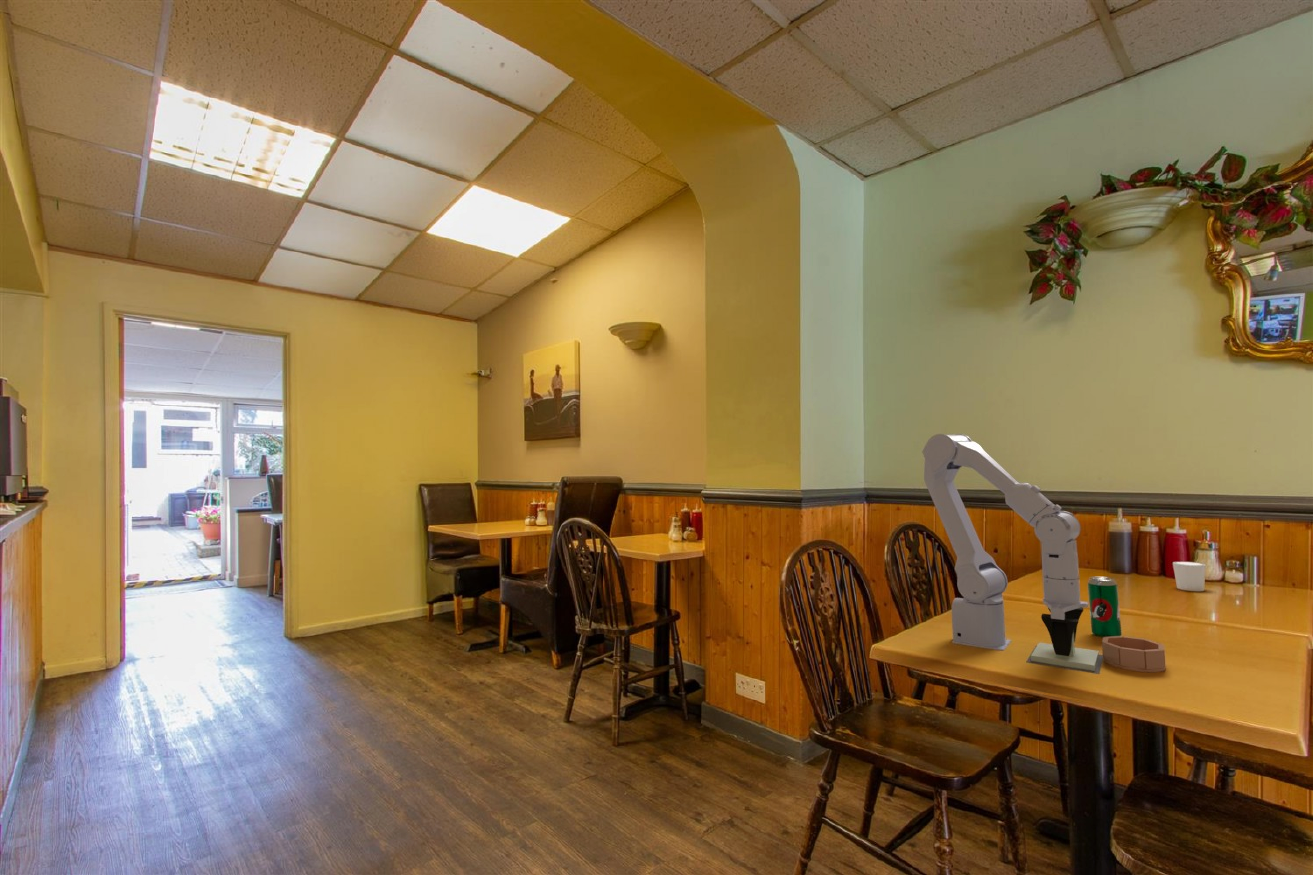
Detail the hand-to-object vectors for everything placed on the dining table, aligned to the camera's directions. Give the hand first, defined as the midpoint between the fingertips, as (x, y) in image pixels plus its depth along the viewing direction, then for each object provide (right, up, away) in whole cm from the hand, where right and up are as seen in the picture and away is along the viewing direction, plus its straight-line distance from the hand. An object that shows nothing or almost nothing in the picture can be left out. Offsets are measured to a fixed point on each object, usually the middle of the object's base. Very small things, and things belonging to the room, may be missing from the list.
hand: (1064, 649), depth 113 cm
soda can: (+18, -2, +14) cm, 23 cm away
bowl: (+10, -2, -4) cm, 11 cm away
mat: (0, -2, 0) cm, 2 cm away
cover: (0, -2, 0) cm, 2 cm away
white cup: (+70, -2, +52) cm, 87 cm away
